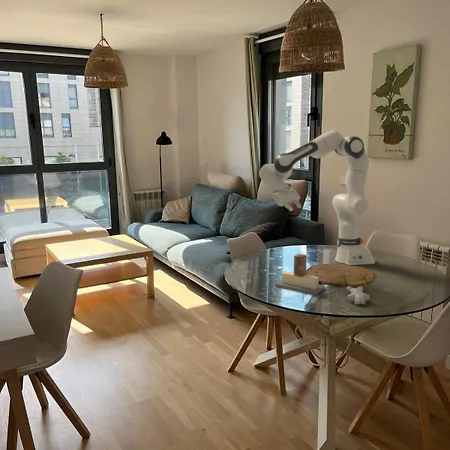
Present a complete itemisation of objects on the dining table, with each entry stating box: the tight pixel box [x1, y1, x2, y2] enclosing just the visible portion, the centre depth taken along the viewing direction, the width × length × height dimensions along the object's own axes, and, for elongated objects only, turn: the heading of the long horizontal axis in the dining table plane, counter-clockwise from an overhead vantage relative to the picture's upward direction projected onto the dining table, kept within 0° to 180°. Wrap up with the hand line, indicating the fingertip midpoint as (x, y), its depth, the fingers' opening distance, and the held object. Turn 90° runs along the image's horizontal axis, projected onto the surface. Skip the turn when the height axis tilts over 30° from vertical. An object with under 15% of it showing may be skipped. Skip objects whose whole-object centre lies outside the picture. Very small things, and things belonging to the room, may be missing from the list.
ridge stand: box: [274, 270, 326, 296], centre depth 218 cm, size 22×10×6 cm, turn 54°
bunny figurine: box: [345, 286, 370, 305], centre depth 201 cm, size 10×5×15 cm
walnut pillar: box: [293, 253, 307, 277], centre depth 216 cm, size 4×4×10 cm
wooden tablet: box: [350, 282, 370, 293], centre depth 224 cm, size 26×2×10 cm
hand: (296, 208), depth 239 cm, fingers open, 8 cm apart
